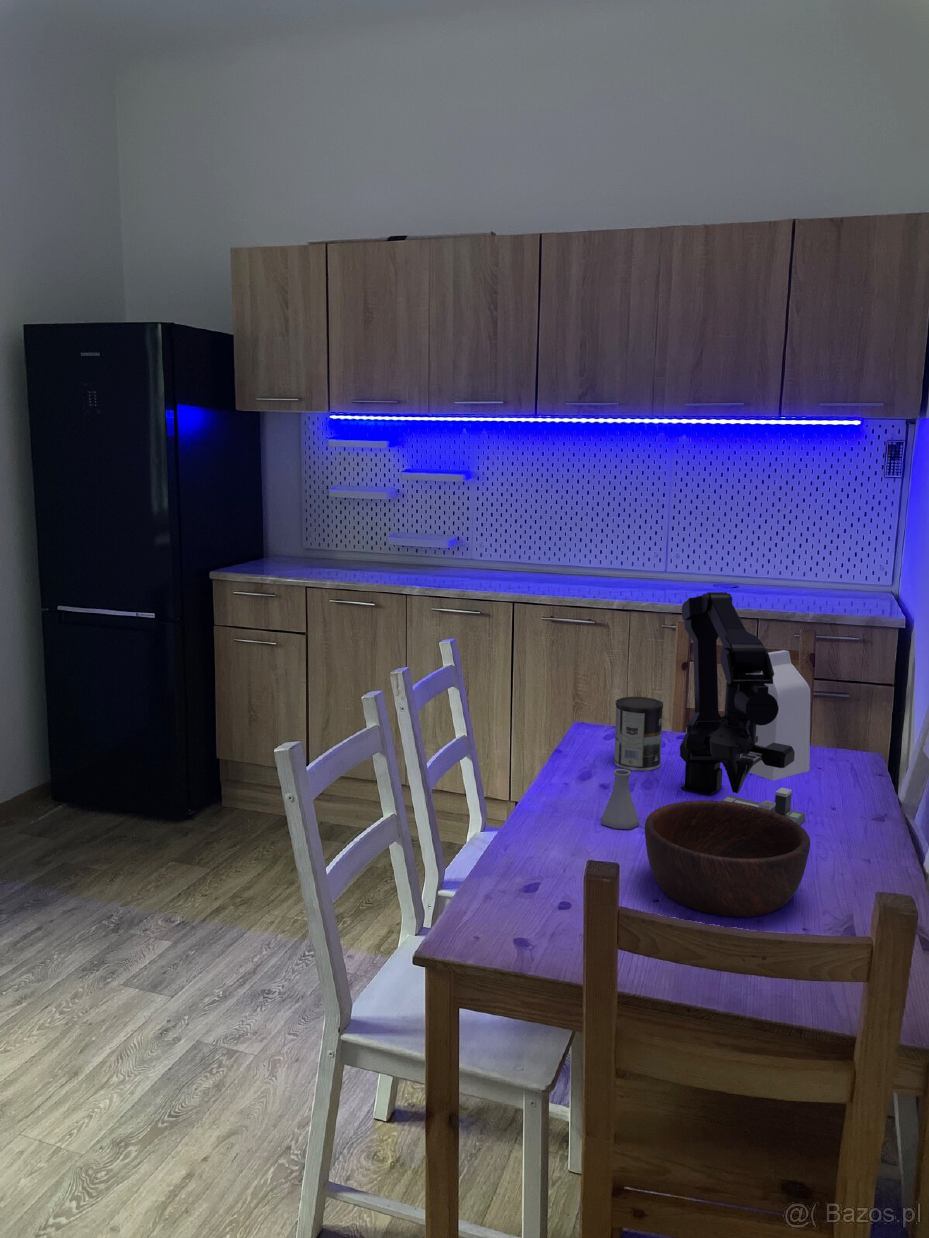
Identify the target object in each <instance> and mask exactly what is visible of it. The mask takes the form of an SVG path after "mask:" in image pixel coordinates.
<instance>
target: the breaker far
mask: <svg viewBox="0 0 929 1238" xmlns="http://www.w3.org/2000/svg"><path fill="white" fill-rule="evenodd" d="M792 794H793V790H792V789H791V788H790V789H789V788H786V787H785V788H784V787H780V788H779V789H777V790H776V791H775V795H774V802H776V805H775V812H776V813H780V814H784V815H785V814H786V813H788V812H789V811H790V810H792V809H791V807H792V796H793V795H792Z"/></svg>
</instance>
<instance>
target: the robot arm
mask: <svg viewBox="0 0 929 1238" xmlns="http://www.w3.org/2000/svg"><path fill="white" fill-rule="evenodd" d="M681 618H682V620H683V621H684V629H685V631H686V633H687V634H688V636H689V637H690V639H691V640H692V644H693V645H692V648H693V652H692V653H693V677H694V678H693V689H694V691H693V692H694V693H693V694H694V713H693V715H692V716H691V718H690V720H689V722H688V723H687V726H686V733H685V735H684V737H683V739H682V741H681V743H680V745H679V756H680V758H681V759H682V760H683V761H684V763H685V767H684V768H685V769H684V770H685V772H684V784H682V785H680V789H681V790H685V791H689V792H691V793H697V794H701V795H705V796H712V795H714V794H715V793H716V792H719V791H720V790H721V789H722V788H723V768H721V763H722V765H723V767H724V769H725V772H726V774H727V778H728V781H729V784H730V785H729V786H730V787H731V791H732V793H734V794H738V793H739V792H740V791H741V788H742V787H743V784H744V783H745V781H746V778H747V776H748V775H749V773H750V772H749V771H750V769H751V768H752V766H753V765H754V764H756V763H757V762H759V761H761V760H762V761H763V763H764V764H765V765H767V766H772V767H777V768H785V767H786V766H788V765H789V764H790V763H792V762H793V761H794V755H795V752H794V749H793V748H792V746H789V745H783V744H778V743H771V744H770V745H768V746H767V747H763V746H758V745H755V743H756V742H758V736H756V727H757V725H767V724H769V723H771V722H772V721H773V720H774V719H775V718H776V716H777V714H778V710H779V706H778V703H777V701H776V699H775V698H774V697H773V696H772V695H770V694H769V693H768V686H767V685H765V684H773V676H774V671H773V667H772V664H771V660H770V657H769V654H768V653H769V652H768V649H767V647H765V644H764V643H763V642H762V641H761V639H760V638H759V637H758V636H756V635H754V634H752V633H750V632H749V631H747V629H746V627H745V625H744V624H743V622H742V620H741V618H740V616H739V614H738V612H737V610H736V608H735V606H734V604H733V598H732V594H731V593H729V592H726V591H722V592H721V591H719V592H717V591H715V592H714V591H708V592H706V593H703V594H702V595H699V596H695V597H689V598H688V599H687V600H686V601H684V602H683V603H682V605H681ZM718 638H719V640H720V642H721V644H722V648H721V650H720V664H721V668H722V670H723V674H724V678H725V681H726V682H725V683H726V684H725V698H724V701H725V702H724V713H723V715H721V714H720V711H719V689H718V688H719V685H718V684H719V683H718V681H719V680H718V676H719V675H718V647H717V645H718V643H717V641H718ZM761 671H762V672H763V674H759V673H761ZM740 755H741V758H740Z"/></svg>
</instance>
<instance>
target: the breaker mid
mask: <svg viewBox="0 0 929 1238" xmlns="http://www.w3.org/2000/svg"><path fill="white" fill-rule="evenodd" d="M775 805H776V802H775V801H772V800H766V799H765V800H763V801H760V804H759V807H760V808H764V809H767V810H770V811H773V812H775Z"/></svg>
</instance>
